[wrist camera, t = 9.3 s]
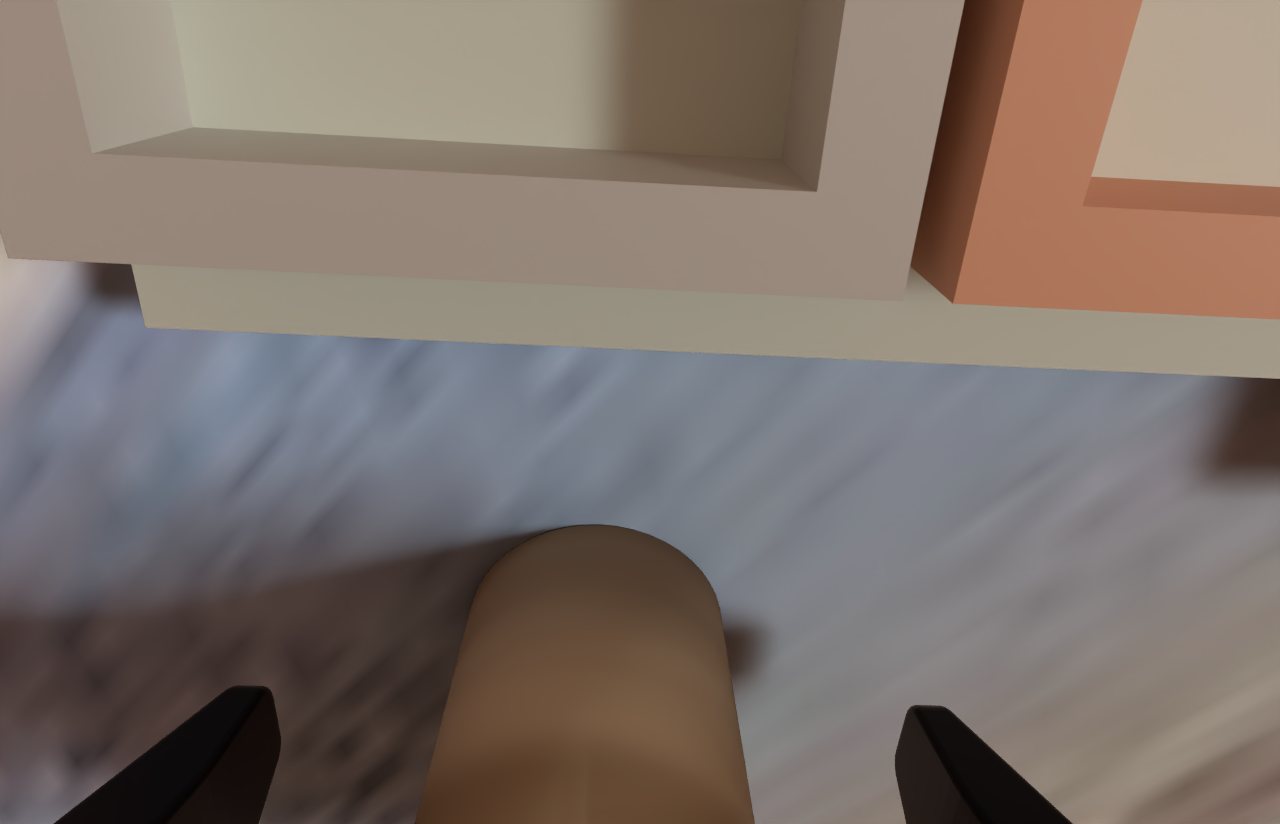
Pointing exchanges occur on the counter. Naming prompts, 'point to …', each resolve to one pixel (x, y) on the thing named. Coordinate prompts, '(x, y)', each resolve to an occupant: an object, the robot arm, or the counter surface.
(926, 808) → the robot arm
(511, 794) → the peg
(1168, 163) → the board
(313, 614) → the counter surface
